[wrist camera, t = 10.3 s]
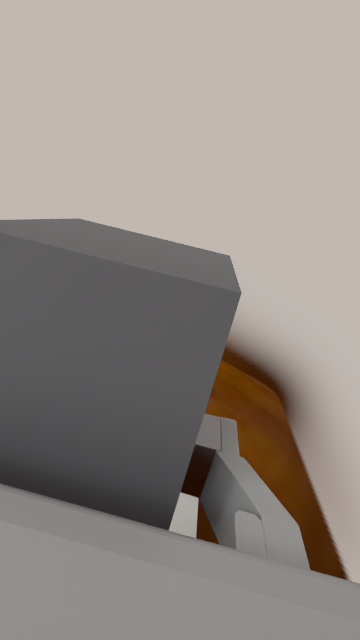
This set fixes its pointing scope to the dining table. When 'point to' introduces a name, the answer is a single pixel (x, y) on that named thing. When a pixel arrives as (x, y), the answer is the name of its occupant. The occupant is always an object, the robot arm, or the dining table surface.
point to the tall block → (106, 362)
